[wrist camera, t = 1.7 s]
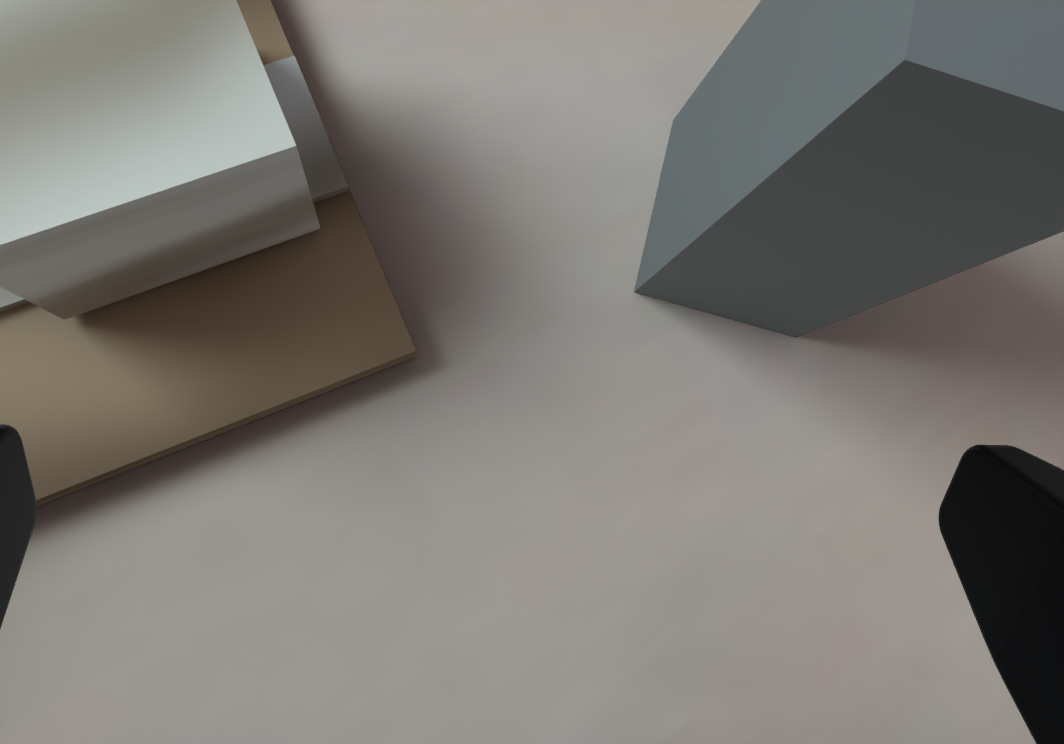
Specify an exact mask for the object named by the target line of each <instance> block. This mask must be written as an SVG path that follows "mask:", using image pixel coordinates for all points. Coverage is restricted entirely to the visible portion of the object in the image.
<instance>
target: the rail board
mask: <svg viewBox="0 0 1064 744" xmlns="http://www.w3.org/2000/svg"><path fill="white" fill-rule="evenodd" d="M415 357H416V349H415V346H414V344H413V341H412V339H411V337H410V334H409V332H408V329H407V327H406V325H405V322H404V320H403V317H402V315H401V313H400V310H399V308H398V305H397V303H396V301H395V298H394V296H393V293H392V291H391V289H390V286H389V284H388V281H387V279H386V277H385V274H384V272H383V269H382V267H381V265H380V262H379V260H378V257H377V255H376V252H375V250H374V248H373V245H372V243H371V240H370V238H369V236H368V233H367V231H366V228H365V226H364V224H363V221H362V219H361V216H360V214H359V212H358V209H357V207H356V204H355V202H354V200H353V197H352V195H351V192H350V190H349V185H348V183H347V180H346V178H345V175H344V173H343V171H342V168H341V166H340V163H339V161H338V158H337V156H336V154H335V151H334V149H333V146H332V144H331V142H330V139H329V137H328V134H327V132H326V130H325V127H324V125H323V122H322V120H321V118H320V115H319V113H318V110H317V108H316V106H315V103H314V101H313V98H312V96H311V94H310V91H309V89H308V86H307V84H306V82H305V79H304V77H303V74H302V72H301V70H300V67H299V65H298V62H297V60H296V58H295V55H293V53H292V50H291V48H290V46H289V43H288V41H287V38H286V36H285V34H284V31H283V29H282V26H281V24H280V22H279V19H278V17H277V14H276V12H275V10H274V7H273V5H272V2H271V0H0V424H8V425H10V426H12V427H13V428H15V429H16V430H17V431H18V433H19V435H20V437H21V439H22V443H23V447H24V451H25V455H26V459H27V463H28V468H29V472H30V476H31V480H32V484H33V489H34V493H35V497H36V507H37V506H39V505H42V504H44V503H47V502H49V501H52V500H55V499H57V498H60V497H62V496H65V495H67V494H70V493H72V492H75V491H77V490H80V489H82V488H85V487H88V486H90V485H93V484H95V483H98V482H100V481H103V480H105V479H108V478H110V477H113V476H115V475H118V474H120V473H123V472H126V471H128V470H131V469H133V468H136V467H138V466H141V465H143V464H146V463H148V462H151V461H153V460H156V459H158V458H161V457H164V456H166V455H169V454H171V453H174V452H176V451H179V450H181V449H184V448H186V447H189V446H191V445H194V444H197V443H199V442H202V441H204V440H207V439H209V438H212V437H214V436H217V435H219V434H222V433H224V432H227V431H229V430H232V429H235V428H237V427H240V426H242V425H245V424H247V423H250V422H252V421H255V420H257V419H260V418H262V417H265V416H267V415H270V414H273V413H275V412H278V411H280V410H283V409H285V408H288V407H290V406H293V405H295V404H298V403H300V402H303V401H306V400H308V399H311V398H313V397H316V396H318V395H321V394H323V393H326V392H328V391H331V390H333V389H336V388H338V387H341V386H344V385H346V384H349V383H351V382H354V381H356V380H359V379H361V378H364V377H366V376H369V375H371V374H374V373H376V372H379V371H382V370H384V369H387V368H389V367H392V366H394V365H397V364H399V363H402V362H404V361H407V360H409V359H412V358H415Z"/></svg>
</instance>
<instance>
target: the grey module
mask: <svg viewBox="0 0 1064 744" xmlns="http://www.w3.org/2000/svg"><path fill="white" fill-rule="evenodd" d="M1063 231H1064V0H761V1H760V3H759V4H758V6H757V7H756V8H755V10H754V11H753V12H752V14H751V15H750V16H749V18H748V19H747V21H746V22H745V23H744V25H743V26H742V27H741V29H740V30H739V31H738V33H737V34H736V35H735V37H734V38H733V40H732V41H731V42H730V44H729V45H728V46H727V48H726V49H725V50H724V52H723V53H722V55H721V56H720V57H719V59H718V60H717V61H716V63H715V64H714V65H713V67H712V68H711V70H710V71H709V72H708V74H707V75H706V76H705V78H704V79H703V80H702V82H701V83H700V84H699V86H698V87H697V89H696V90H695V91H694V93H693V94H692V95H691V97H690V98H689V99H688V101H687V102H686V104H685V105H684V106H683V108H682V109H681V110H680V112H679V113H678V114H677V116H676V117H675V119H674V120H673V124H672V129H671V133H670V137H669V142H668V146H667V151H666V155H665V159H664V164H663V168H662V173H661V177H660V181H659V186H658V190H657V194H656V199H655V203H654V208H653V212H652V216H651V221H650V225H649V229H648V234H647V238H646V243H645V247H644V251H643V256H642V260H641V265H640V269H639V273H638V278H637V282H636V286H635V291H634V292H637V293H640V294H644V295H647V296H651V297H654V298H658V299H661V300H665V301H669V302H672V303H676V304H679V305H683V306H686V307H690V308H694V309H697V310H701V311H704V312H708V313H711V314H715V315H718V316H722V317H726V318H729V319H733V320H736V321H740V322H743V323H747V324H750V325H754V326H758V327H761V328H765V329H768V330H772V331H775V332H779V333H783V334H786V335H790V336H793V337H798V336H800V335H803V334H805V333H808V332H810V331H813V330H815V329H818V328H820V327H823V326H826V325H828V324H831V323H833V322H836V321H838V320H841V319H843V318H846V317H848V316H851V315H853V314H856V313H858V312H861V311H863V310H866V309H868V308H871V307H874V306H876V305H879V304H881V303H884V302H886V301H889V300H891V299H894V298H896V297H899V296H901V295H904V294H906V293H909V292H911V291H914V290H916V289H919V288H922V287H924V286H927V285H929V284H932V283H934V282H937V281H939V280H942V279H944V278H947V277H949V276H952V275H954V274H957V273H959V272H962V271H965V270H967V269H970V268H972V267H975V266H977V265H980V264H982V263H985V262H987V261H990V260H992V259H995V258H997V257H1000V256H1002V255H1005V254H1007V253H1010V252H1013V251H1015V250H1018V249H1020V248H1023V247H1025V246H1028V245H1030V244H1033V243H1035V242H1038V241H1040V240H1043V239H1045V238H1048V237H1050V236H1053V235H1056V234H1058V233H1061V232H1063Z"/></svg>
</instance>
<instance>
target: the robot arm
mask: <svg viewBox="0 0 1064 744" xmlns="http://www.w3.org/2000/svg"><path fill="white" fill-rule="evenodd" d="M36 509H37V508H36V497H35V493H34V489H33V484H32V480H31V476H30V472H29V468H28V463H27V459H26V455H25V451H24V447H23V443H22V439H21V437H20V435H19V433H18V431H17V430H16V429H15V428H13V427H12V426H10V425H8V424H0V629H1V626H2V622H3V619H4V616H5V613H6V610H7V607H8V604H9V601H10V598H11V595H12V592H13V589H14V586H15V583H16V580H17V577H18V574H19V571H20V568H21V565H22V562H23V558H24V555H25V552H26V549H27V546H28V543H29V540H30V537H31V534H32V531H33V528H34V524H35V519H36ZM939 526H940V531H941V534H942V536H943V539H944V541H945V544H946V546H947V549H948V551H949V554H950V556H951V559H952V561H953V564H954V566H955V568H956V571H957V573H958V576H959V578H960V581H961V583H962V586H963V588H964V591H965V593H966V596H967V598H968V601H969V603H970V605H971V608H972V610H973V613H974V615H975V618H976V620H977V623H978V625H979V628H980V630H981V633H982V635H983V638H984V640H985V642H986V645H987V647H988V649H989V651H990V654H991V656H992V658H993V661H994V663H995V665H996V667H997V669H998V671H999V673H1000V675H1001V677H1002V679H1003V681H1004V683H1005V685H1006V687H1007V689H1008V691H1009V693H1010V695H1011V697H1012V698H1013V700H1014V702H1015V704H1016V706H1017V708H1018V710H1019V712H1020V714H1021V716H1022V717H1023V719H1024V721H1025V723H1026V725H1027V727H1028V729H1029V731H1030V733H1031V735H1032V736H1033V738H1034V740H1035V742H1036V744H1064V470H1062V469H1060V468H1058V467H1056V466H1054V465H1052V464H1050V463H1048V462H1046V461H1044V460H1042V459H1040V458H1038V457H1035V456H1033V455H1031V454H1029V453H1027V452H1025V451H1023V450H1021V449H1019V448H1016V447H1013V446H1008V445H975V446H973V447H970V448H969V449H968V450H967V451H966V452H965V453H964V454H963V456H962V458H961V460H960V462H959V464H958V467H957V469H956V471H955V473H954V476H953V478H952V480H951V483H950V485H949V487H948V489H947V492H946V494H945V496H944V499H943V501H942V503H941V506H940V510H939Z"/></svg>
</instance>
